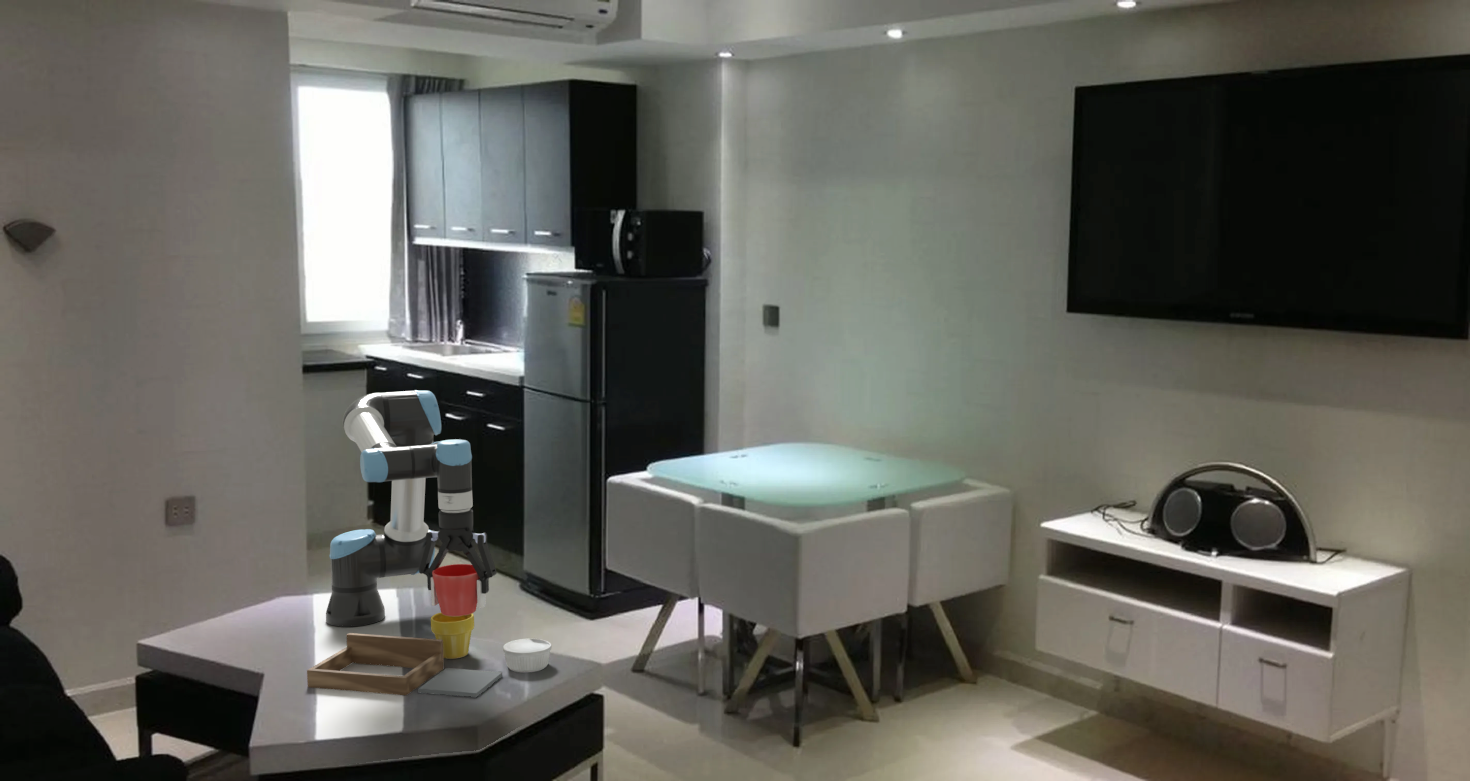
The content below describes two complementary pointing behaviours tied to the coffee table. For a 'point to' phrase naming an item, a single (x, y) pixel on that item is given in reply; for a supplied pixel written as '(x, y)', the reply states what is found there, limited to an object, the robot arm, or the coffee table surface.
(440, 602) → the flower pot
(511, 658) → the ramekin
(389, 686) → the frame
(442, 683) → the rubber mat
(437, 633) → the plant pot
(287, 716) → the coffee table surface
